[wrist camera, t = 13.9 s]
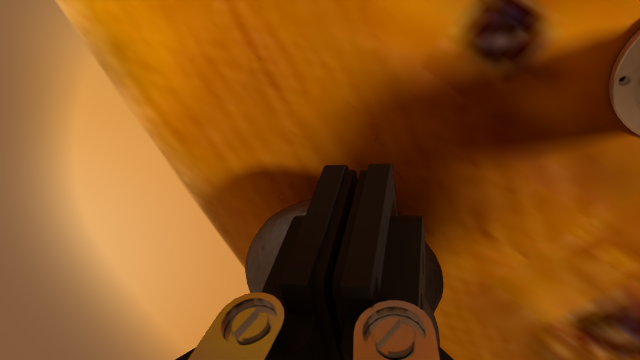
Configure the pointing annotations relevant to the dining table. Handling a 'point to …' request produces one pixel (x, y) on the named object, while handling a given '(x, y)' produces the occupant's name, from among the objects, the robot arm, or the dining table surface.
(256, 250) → the pitcher
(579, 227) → the dining table surface
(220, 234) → the dining table surface
